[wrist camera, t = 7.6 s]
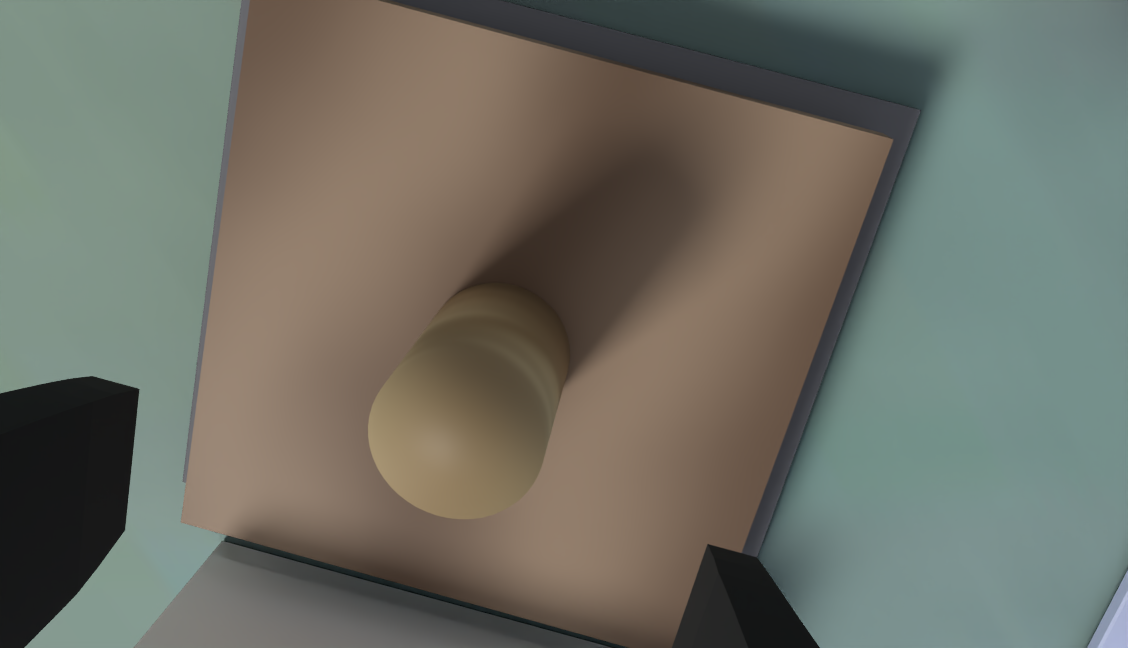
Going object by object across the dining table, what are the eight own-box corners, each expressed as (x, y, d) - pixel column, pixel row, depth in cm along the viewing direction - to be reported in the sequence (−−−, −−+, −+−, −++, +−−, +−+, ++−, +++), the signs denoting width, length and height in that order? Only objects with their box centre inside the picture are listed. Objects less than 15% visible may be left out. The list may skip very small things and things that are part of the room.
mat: (916, 108, 18) (920, 110, 18) (729, 622, 22) (730, 631, 22) (256, -64, 18) (249, -65, 18) (188, 475, 22) (182, 481, 22)
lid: (877, 129, 18) (959, 178, 13) (697, 627, 22) (706, 817, 17) (284, -30, 18) (134, -44, 13) (210, 491, 22) (72, 638, 17)
